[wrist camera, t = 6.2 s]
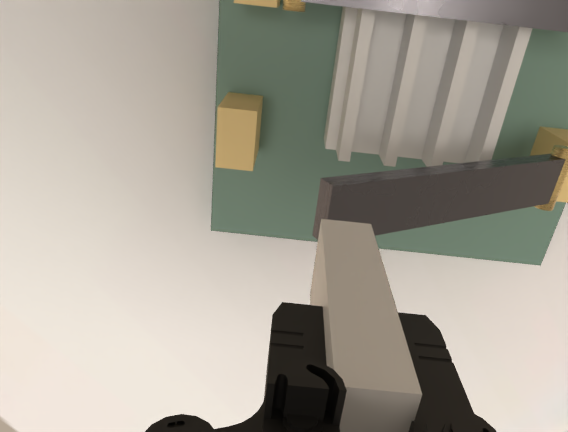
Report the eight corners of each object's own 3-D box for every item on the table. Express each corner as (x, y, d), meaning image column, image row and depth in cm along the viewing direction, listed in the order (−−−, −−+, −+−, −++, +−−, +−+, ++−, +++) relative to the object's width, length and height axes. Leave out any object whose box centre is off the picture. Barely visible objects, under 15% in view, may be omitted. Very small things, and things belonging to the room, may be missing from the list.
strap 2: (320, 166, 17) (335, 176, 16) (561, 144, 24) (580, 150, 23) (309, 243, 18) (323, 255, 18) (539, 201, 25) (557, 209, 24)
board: (231, -217, 22) (213, -270, 17) (695, -161, 22) (797, -200, 18) (214, 222, 32) (199, 260, 27) (532, 256, 32) (570, 299, 28)
